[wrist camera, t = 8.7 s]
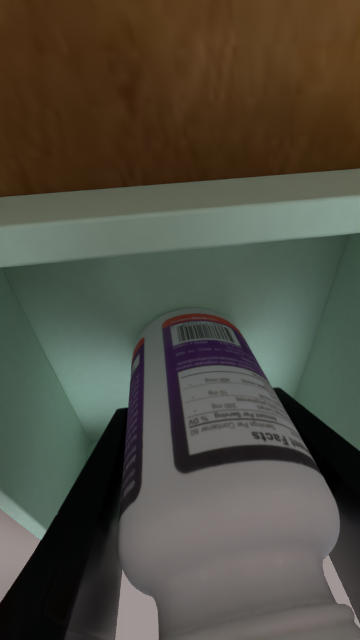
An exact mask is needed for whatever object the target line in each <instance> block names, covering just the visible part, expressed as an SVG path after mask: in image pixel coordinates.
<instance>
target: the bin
mask: <svg viewBox="0 0 360 640" xmlns="http://www.w3.org/2000/svg"><path fill="white" fill-rule="evenodd" d="M185 308H202V309H208V310H212V311H215V312H217V313H220V314H222V315H224V316H225V317H227V318H228V319H230V320H231V321H232V322H233V323H234V324H235V325H236V326H237V328H238V329H239V331H240V332H241V334H242V335H243V337H244V339H245V340H246V342H247V344H248V345H249V347H250V349H251V351H252V353H253V354H254V356H255V358H256V360H257V361H258V363H259V365H260V367H261V369H262V370H263V372H264V374H265V376H266V377H267V379H268V381H269V383H270V384H271V386H272V388H274V387H279V388H281V389H282V390H284V391H285V392H286V393H288V394H289V395H290V396H291V397H293V398H294V399H295V400H296V401H298V402H299V403H300V404H301V405H303V406H304V407H305V408H306V409H308V410H309V411H310V412H311V413H313V414H314V415H315V416H317V417H318V418H319V419H320V420H322V421H323V422H324V423H325V424H327V425H328V426H329V427H330V428H332V429H333V430H334V431H335V432H337V433H338V434H339V435H340V436H342V437H343V438H344V439H345V440H347V441H348V442H349V443H351V444H352V445H353V446H354V447H356V448H357V449H358V450H359V451H360V169H348V170H335V171H323V172H310V173H298V174H285V175H272V176H260V177H247V178H235V179H222V180H210V181H197V182H184V183H172V184H159V185H147V186H134V187H121V188H109V189H96V190H84V191H71V192H59V193H46V194H33V195H21V196H8V197H0V509H1V510H3V511H4V512H5V513H6V514H8V515H9V516H10V517H12V518H13V519H14V520H15V521H17V522H18V523H19V524H20V525H22V526H23V527H24V528H26V529H27V530H28V531H29V532H31V533H32V534H33V535H35V536H36V537H37V538H38V539H40V540H41V539H42V538H43V536H44V534H45V533H46V531H47V529H48V528H49V526H50V524H51V522H52V521H53V519H54V517H55V515H58V510H59V509H60V507H61V505H62V503H63V502H64V500H65V498H66V496H67V495H68V493H69V491H70V489H71V488H72V486H73V484H74V482H75V481H76V479H77V477H78V476H79V474H80V472H81V470H82V469H83V467H84V465H85V463H86V462H87V460H88V458H89V456H90V455H91V453H92V451H93V449H94V448H95V446H96V444H97V442H98V441H99V439H100V437H101V435H102V434H103V432H104V430H105V429H106V427H107V425H108V423H109V422H110V420H111V418H112V416H113V415H114V413H115V411H116V410H117V409H118V408H125V407H127V408H128V403H129V390H130V377H131V364H132V356H133V350H134V346H135V344H136V341H137V339H138V338H139V336H140V334H141V333H142V332H143V330H144V329H145V328H146V327H147V326H148V325H149V324H150V323H152V322H153V321H154V320H156V319H157V318H159V317H161V316H163V315H165V314H167V313H170V312H172V311H175V310H179V309H185Z"/></svg>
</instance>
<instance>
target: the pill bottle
mask: <svg viewBox="0 0 360 640" xmlns="http://www.w3.org/2000/svg"><path fill="white" fill-rule="evenodd" d="M118 525H119V533H118V552H119V558H120V563H121V567H122V569H123V571H124V573H125V575H126V577H127V578H128V580H129V581H130V583H131V584H132V585H133V586H134V587H135V588H136V589H138V590H139V591H141V592H142V593H144V594H146V595H149V596H152V597H153V598H154V600H155V602H156V605H157V609H158V621H159V640H360V628H359V627H358V626H357V625H356V624H355V622H354V613H353V611H352V609H351V608H350V607H349V606H347V605H345V604H337V603H336V601H335V599H334V597H333V595H332V593H331V590H330V588H329V585H328V583H327V581H326V578H325V576H324V572H323V567H322V563H323V559H324V558H325V557H326V556H327V555H328V554H329V553H330V552H331V551H332V549H333V548H334V546H335V544H336V542H337V539H338V535H339V531H340V518H339V511H338V507H337V504H336V501H335V499H334V497H333V495H332V493H331V491H330V489H329V487H328V485H327V484H326V482H325V479H324V477H323V475H322V474H321V472H320V470H319V468H318V467H317V465H316V463H315V461H314V459H313V458H312V456H311V454H310V452H309V451H308V449H307V447H306V446H305V444H304V442H303V440H302V439H301V437H300V435H299V433H298V432H297V430H296V428H295V426H294V425H293V423H292V421H291V419H290V418H289V416H288V414H287V413H286V411H285V409H284V407H283V406H282V404H281V402H280V400H279V399H278V397H277V395H276V393H275V391H274V390H273V388H272V386H271V384H270V383H269V381H268V379H267V377H266V376H265V374H264V372H263V370H262V369H261V367H260V365H259V363H258V361H257V360H256V358H255V356H254V354H253V353H252V351H251V349H250V347H249V345H248V344H247V342H246V340H245V339H244V337H243V335H242V334H241V332H240V331H239V329H238V328H237V326H236V325H235V324H234V323H233V322H232V321H231V320H230V319H228V318H227V317H225V316H224V315H222V314H220V313H217V312H215V311H212V310H208V309H202V308H185V309H179V310H175V311H172V312H170V313H167V314H165V315H163V316H161V317H159V318H157V319H156V320H154V321H153V322H152V323H150V324H149V325H148V326H147V327H146V328H145V329H144V330H143V332H142V333H141V334H140V336H139V338H138V339H137V341H136V344H135V346H134V350H133V356H132V364H131V377H130V390H129V403H128V415H127V428H126V440H125V452H124V463H123V477H122V487H121V501H120V513H119V523H118Z"/></svg>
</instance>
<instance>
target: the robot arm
mask: <svg viewBox="0 0 360 640" xmlns="http://www.w3.org/2000/svg"><path fill="white" fill-rule="evenodd" d="M273 390H274V391H275V393H276V395H277V397H278V399H279V400H280V402H281V404H282V406H283V407H284V409H285V411H286V413H287V414H288V416H289V418H290V419H291V421H292V423H293V425H294V426H295V428H296V430H297V432H298V433H299V435H300V437H301V439H302V440H303V442H304V444H305V446H306V447H307V449H308V451H309V452H310V454H311V456H312V458H313V459H314V461H315V463H316V465H317V467H318V468H319V470H320V472H321V474H322V475H323V477H324V479H325V482H326V484H327V485H328V487H329V489H330V491H331V493H332V495H333V497H334V499H335V501H336V504H337V507H338V511H339V518H340V531H339V535H338V539H337V542H336V544H335V546H334V548H333V549H332V551H331V552H330V553H329V556H330V558H331V561H332V563H333V565H334V567H335V569H336V572H337V574H338V576H339V578H340V580H341V582H342V585H343V587H344V589H345V591H346V593H347V596H348V597H349V600H350V603H351V605H352V607H353V609H354V611H355V614H356V616H357V618H358V620H359V622H360V451H359V450H358V449H357V448H356V447H354V446H353V445H352V444H351V443H349V442H348V441H347V440H345V439H344V438H343V437H342V436H340V435H339V434H338V433H337V432H335V431H334V430H333V429H332V428H330V427H329V426H328V425H327V424H325V423H324V422H323V421H322V420H320V419H319V418H318V417H317V416H315V415H314V414H313V413H311V412H310V411H309V410H308V409H306V408H305V407H304V406H303V405H301V404H300V403H299V402H298V401H296V400H295V399H294V398H293V397H291V396H290V395H289V394H288V393H286V392H285V391H284V390H282V389H281V388H279V387H274V388H273ZM127 415H128V408H127V407H125V408H118V409H117V410H116V411H115V413H114V415H113V416H112V418H111V420H110V422H109V423H108V425H107V427H106V429H105V430H104V432H103V434H102V435H101V437H100V439H99V441H98V442H97V444H96V446H95V448H94V449H93V451H92V453H91V455H90V456H89V458H88V460H87V462H86V463H85V465H84V467H83V469H82V470H81V472H80V474H79V476H78V477H77V479H76V481H75V482H74V484H73V486H72V488H71V489H70V491H69V493H68V495H67V496H66V498H65V500H64V502H63V503H62V505H61V507H60V509H59V510H58V515H55V517H54V519H53V521H52V522H51V524H50V526H49V528H48V529H47V531H46V533H45V534H44V536H43V538H42V539H41V541H40V543H39V544H38V546H37V548H36V549H35V551H34V553H33V554H32V556H31V557H30V559H29V560H28V562H27V563H26V565H25V566H24V568H23V570H22V571H21V573H20V574H19V576H18V577H17V579H16V580H15V582H14V583H13V585H12V586H11V588H10V589H9V591H8V592H7V594H6V595H5V597H4V598H3V600H2V601H1V602H0V640H115V634H116V626H117V616H118V606H119V597H120V587H121V577H122V567H121V563H120V558H119V552H118V533H119V525H118V523H119V513H120V501H121V487H122V477H123V463H124V452H125V440H126V428H127Z"/></svg>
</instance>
